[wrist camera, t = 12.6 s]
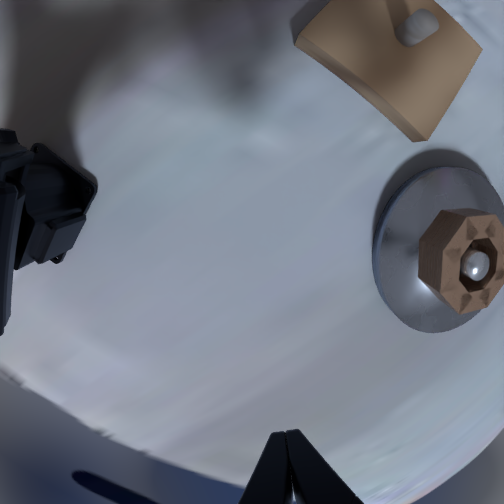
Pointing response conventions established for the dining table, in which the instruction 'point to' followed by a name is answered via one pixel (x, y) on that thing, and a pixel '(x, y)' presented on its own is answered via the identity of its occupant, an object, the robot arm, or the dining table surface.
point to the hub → (407, 243)
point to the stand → (394, 57)
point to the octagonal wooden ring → (450, 251)
